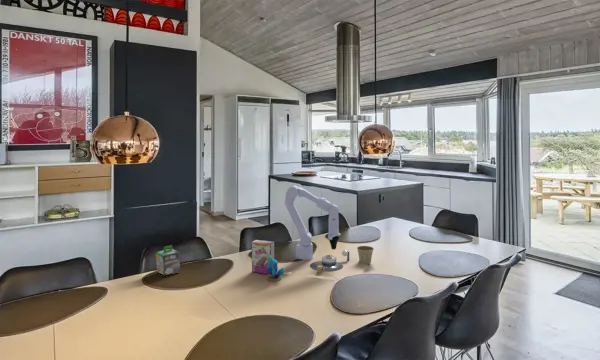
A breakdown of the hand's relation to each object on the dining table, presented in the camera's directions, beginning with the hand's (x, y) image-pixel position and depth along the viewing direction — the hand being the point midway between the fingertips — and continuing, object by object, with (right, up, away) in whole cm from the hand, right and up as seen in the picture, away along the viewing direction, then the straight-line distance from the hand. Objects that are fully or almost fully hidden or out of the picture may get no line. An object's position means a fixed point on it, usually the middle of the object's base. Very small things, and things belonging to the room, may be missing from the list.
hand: (333, 249), depth 211 cm
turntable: (-6, -7, -13) cm, 16 cm away
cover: (-3, -6, -7) cm, 10 cm away
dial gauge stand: (+8, -7, -2) cm, 11 cm away
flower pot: (+17, -7, -5) cm, 19 cm away
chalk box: (-89, -10, -18) cm, 91 cm away
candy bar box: (-39, -9, -18) cm, 43 cm away
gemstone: (-32, -10, -28) cm, 44 cm away
